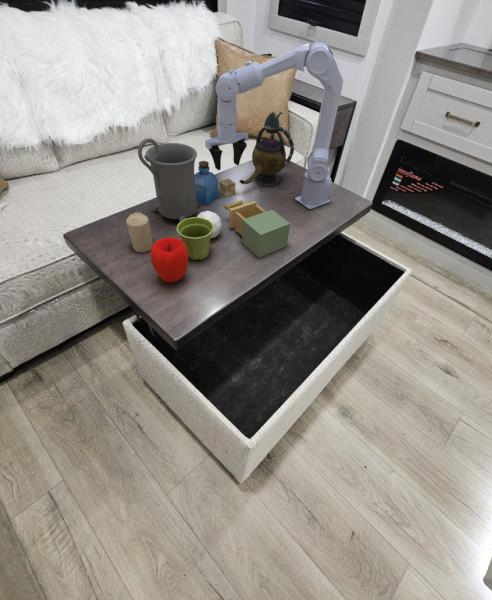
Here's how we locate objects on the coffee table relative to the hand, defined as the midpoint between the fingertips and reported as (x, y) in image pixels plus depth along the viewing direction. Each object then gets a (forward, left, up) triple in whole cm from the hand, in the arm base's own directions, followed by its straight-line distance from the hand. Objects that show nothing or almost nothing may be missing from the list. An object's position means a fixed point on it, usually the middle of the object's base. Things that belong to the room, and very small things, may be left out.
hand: (227, 166), depth 110 cm
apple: (+35, +29, -10) cm, 47 cm away
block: (0, 0, -9) cm, 9 cm away
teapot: (-15, 0, -10) cm, 17 cm away
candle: (+36, +13, -10) cm, 40 cm away
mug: (+22, +4, -10) cm, 24 cm away
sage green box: (+7, +30, -9) cm, 32 cm away
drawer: (+7, +20, -9) cm, 23 cm away
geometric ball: (+18, +18, -10) cm, 28 cm away
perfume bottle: (+8, -1, -10) cm, 13 cm away
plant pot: (+25, +24, -10) cm, 36 cm away
